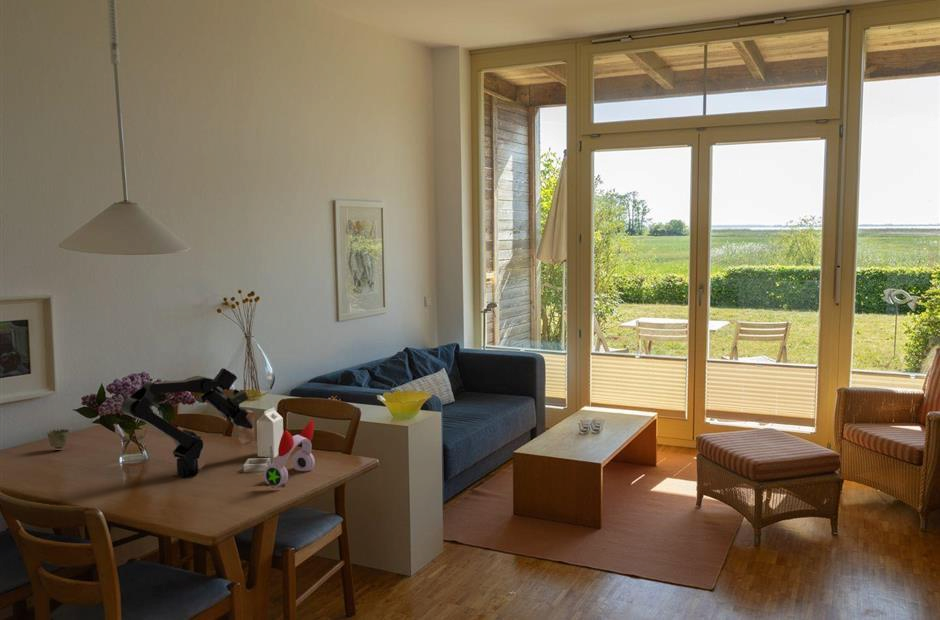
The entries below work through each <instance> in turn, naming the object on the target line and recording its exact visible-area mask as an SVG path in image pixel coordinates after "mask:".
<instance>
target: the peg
mask: <svg viewBox="0 0 940 620" xmlns="http://www.w3.org/2000/svg"><path fill="white" fill-rule="evenodd" d="M245 410H246V409H245ZM246 411H248V412H249V413H248V415H247V416H246V418H247V419H248V421H249V422H250V423H251V425H252V426H253V428H252V429H249V428H246V427H242V426H238V438H239V439H238V441H239V442H238V443H239V444H240V445H241V446H247V445H255V443H256V442H255V415H254V414H255V412H254V411H252V410H251V409H247V410H246Z"/></svg>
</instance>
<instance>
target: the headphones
mask: <svg viewBox="0 0 940 620" xmlns="http://www.w3.org/2000/svg"><path fill="white" fill-rule="evenodd" d="M314 431H315V421H314V418H313V419H311V420H310V421H309V422H308V423H307V424H306V425H305V427H304V428H303V430H301V433H300V434H296V435H292V434H291V433H290V431H288V430H284V429H283V435H282V437H281V440H280V444H279V448H278V455H277V456H276V457H275V460H274V463H271V464H269V465H268V466H267V468H266V469H265V471H264V473H263V478H264V482H265V483H266V484H268V486H269V487H271V488H276V487H279V488H281V487H283V486H284V485H286V484H287V482H288V479H289V472H288V469H287V467H286V463H287V460H288V458H289V456H290V455H291V454H292V452H293V451H294V450H295V449H296V447H298V445H300V444H301V445H302V446H301V449H300V450H297V451H296V452H295V453H294V454H293V456H292V459H291V460H292V461H291V462H292V463H291V464H292V467H293V469H294V470H295V471H300V472H311V471H313V469H314V467H315V465H316V464H315V463H316V460H315V457H314V455H313V454H312V447H313V446H312V440H313V437H314Z"/></svg>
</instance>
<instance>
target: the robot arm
mask: <svg viewBox="0 0 940 620" xmlns="http://www.w3.org/2000/svg"><path fill="white" fill-rule="evenodd" d="M237 379H238V377H237V376H236V374H234V373H233V372H231V371H229V370H227V369H226V368H223V367H222V368H220V370H219V372H218V374H216V376H215V377H214V378H210V377H206V376H200V375H195V376H192V377H191V376H190V377H188V378H185V379H181V380H167V381H166V380H165V381H147V382H145V383H144V384H143V385H142V387H140V388H139V389H137V390H136V391H134V392H133V393H132V394H131V395H130V396H129V397H127V398H125V399H123V401H122V403H121V407H120V408H121V412H122V413H123V414H124V415H128V416H129V417H132V418H135V419H138V420H141V421H142V422H144V423H146V424H147V425H149V426H151V427H153V428H154V429H156V430H157V431H159V432H160V433H162V434H163V435H165V436H166V437H168V438H169V439H171V440H172V441H174V443H175V445H176V447H175V449H174V450H173V451H172V454H173V457H174V458H177V459H176V472H177V473H174V475H173V476H174V477H177V478H184V479H189V478H191V477H195V476H197V475H198V473H199V464H198V463H199V460H198V459H200V455H201V452H202V450H203V448H204V441H203V439H202V436H200V435H197V434H196V433H195V432H194V431H191V430H188V429H183V431H182V430H181V429H179V428H178V427H176V426H175V425H173V424H172V423H170V422H168V421H167V420H165V418H162V417H161V416H159V415H157V414H156V413H155V412H154V411H153V410H152V408H151V407H150V406H151V405H152V404H153V402H154V399H155V397H156V396H157V395H159V394H170V393H182V392H190V393H196V394H197V393H199V394H202V395H198V403H199V404H204V403H205V402H207V403H209V405H210V406H212V407H213V408H214V409H215V410H217V412H219V415H220V416H221V417H223V418H225V419H226V420H228V421H229V422H231V423H233V424H234V425H235V426H238V427H239V426H242V427H246V428H249V429H252V428H253V426H252V425H251V423H250V422H249V421H248V419H247V418H246V416H247V415H248V413H249V412H248V411H246V409H245V408H244V407H240V404H242V403H243V402H246V401H248V400H250V397H249V396H248V394H247V391H246V390H244V389H240V390H238V389H236V388H234V389H233V390H232V391H231V396H227V395H225V394H224V393H223V392H228V391H229V390H230V388H231V387H233V385H234V383H235V382H236V381H237Z"/></svg>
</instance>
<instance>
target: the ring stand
mask: <svg viewBox="0 0 940 620" xmlns="http://www.w3.org/2000/svg"><path fill="white" fill-rule="evenodd" d="M274 459H275V457H274V449H273V446H270V457H264V458H263V457H262V458H247V460H246V461H245V463H244V464H243V466H242V467H238V468H236V469H233V470H232V471H233V472H239V473H244V474H250V475H254V476H261V475H264V471H265V469H266V468H267V466H268V465H269V464H271V463H274V462H275V460H274Z"/></svg>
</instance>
